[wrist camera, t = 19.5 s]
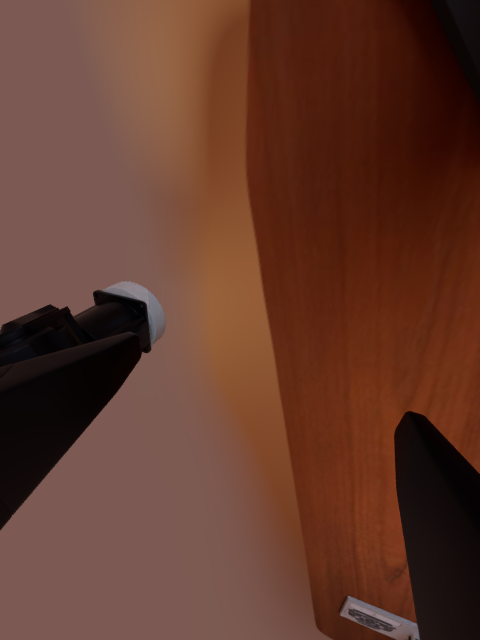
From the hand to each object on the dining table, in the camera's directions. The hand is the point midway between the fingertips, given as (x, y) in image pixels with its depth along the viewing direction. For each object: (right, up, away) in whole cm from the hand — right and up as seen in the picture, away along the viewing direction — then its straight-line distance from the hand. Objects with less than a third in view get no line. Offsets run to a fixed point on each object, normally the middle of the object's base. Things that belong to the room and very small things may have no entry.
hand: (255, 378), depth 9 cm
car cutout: (+23, -43, +31) cm, 58 cm away
